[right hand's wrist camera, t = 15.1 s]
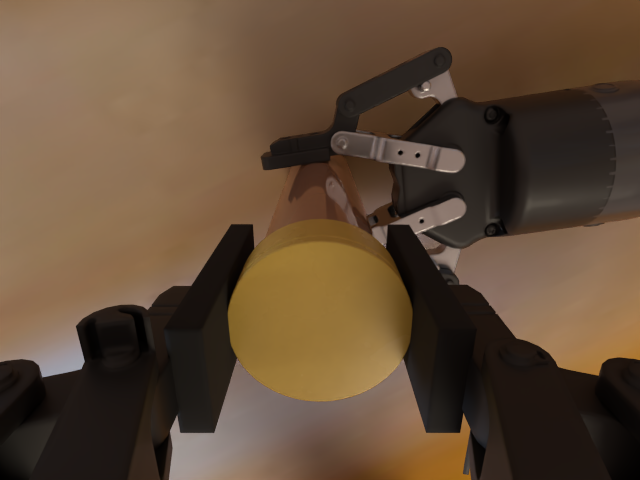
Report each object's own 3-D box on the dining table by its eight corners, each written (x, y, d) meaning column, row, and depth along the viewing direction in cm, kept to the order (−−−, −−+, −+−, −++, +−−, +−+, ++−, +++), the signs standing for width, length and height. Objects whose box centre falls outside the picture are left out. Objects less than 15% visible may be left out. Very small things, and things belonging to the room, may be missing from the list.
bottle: (358, 190, 29) (418, 350, 11) (304, 212, 30) (281, 395, 12) (336, 135, 28) (366, 218, 10) (280, 158, 28) (214, 276, 11)
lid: (398, 209, 11) (411, 231, 9) (403, 354, 13) (415, 394, 11) (225, 226, 11) (209, 251, 10) (253, 367, 13) (243, 409, 11)
